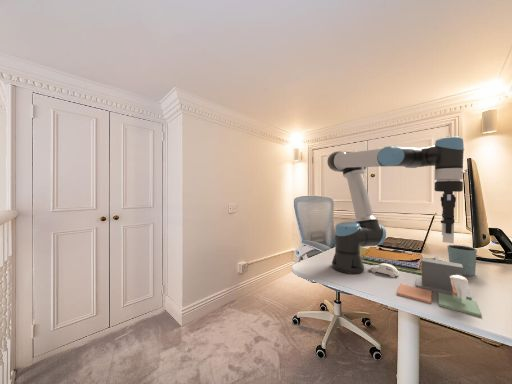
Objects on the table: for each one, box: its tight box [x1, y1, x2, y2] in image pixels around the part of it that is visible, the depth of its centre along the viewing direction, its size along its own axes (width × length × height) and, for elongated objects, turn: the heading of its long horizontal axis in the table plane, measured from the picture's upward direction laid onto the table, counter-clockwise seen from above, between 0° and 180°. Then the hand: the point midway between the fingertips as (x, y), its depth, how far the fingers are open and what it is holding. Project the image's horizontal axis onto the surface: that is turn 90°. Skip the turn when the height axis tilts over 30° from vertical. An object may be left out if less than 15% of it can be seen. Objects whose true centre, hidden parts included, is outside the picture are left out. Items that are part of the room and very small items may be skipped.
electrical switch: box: [429, 255, 440, 260], centre depth 93 cm, size 9×5×9 cm, turn 141°
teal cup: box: [447, 244, 478, 277], centre depth 100 cm, size 10×10×12 cm
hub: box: [415, 257, 473, 301], centre depth 82 cm, size 16×8×11 cm, turn 49°
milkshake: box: [449, 275, 469, 304], centre depth 72 cm, size 4×5×10 cm
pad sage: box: [437, 292, 483, 318], centre depth 71 cm, size 10×10×1 cm
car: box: [368, 262, 400, 278], centre depth 99 cm, size 12×6×5 cm, turn 48°
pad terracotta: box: [396, 283, 433, 305], centre depth 79 cm, size 10×10×1 cm
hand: (447, 238), depth 75 cm, fingers open, 13 cm apart
